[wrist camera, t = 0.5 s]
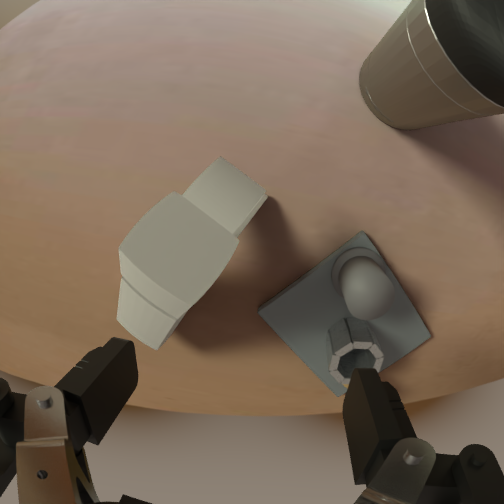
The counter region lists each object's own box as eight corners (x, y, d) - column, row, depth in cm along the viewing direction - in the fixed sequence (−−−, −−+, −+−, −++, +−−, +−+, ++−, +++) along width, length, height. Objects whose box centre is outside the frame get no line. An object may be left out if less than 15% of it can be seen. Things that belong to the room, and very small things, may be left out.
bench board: (362, 230, 30) (382, 251, 23) (427, 331, 33) (451, 366, 25) (258, 307, 34) (249, 345, 27) (336, 391, 36) (342, 433, 29)
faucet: (113, 319, 32) (104, 243, 15) (192, 224, 41) (250, 111, 24) (157, 353, 32) (197, 317, 15) (230, 252, 41) (311, 156, 24)
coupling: (356, 308, 32) (366, 332, 27) (380, 339, 32) (391, 365, 28) (316, 335, 33) (319, 362, 28) (342, 364, 34) (347, 392, 29)
